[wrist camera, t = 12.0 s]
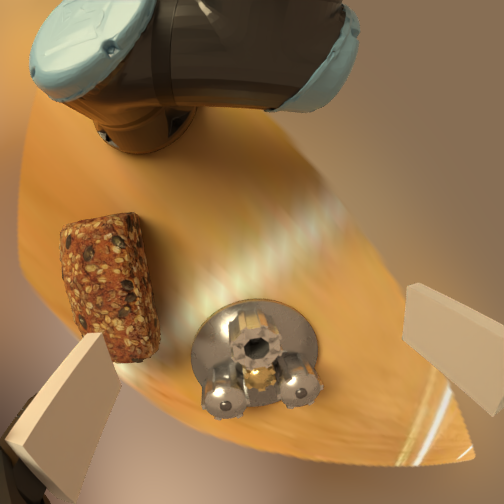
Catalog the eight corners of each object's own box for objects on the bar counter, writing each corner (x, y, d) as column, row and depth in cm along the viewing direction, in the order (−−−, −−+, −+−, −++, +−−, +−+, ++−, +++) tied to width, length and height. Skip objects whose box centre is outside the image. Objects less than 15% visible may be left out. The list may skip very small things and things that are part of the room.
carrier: (179, 308, 40) (171, 331, 32) (313, 288, 41) (332, 307, 34) (205, 408, 44) (204, 438, 36) (315, 390, 45) (329, 417, 38)
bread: (166, 332, 40) (153, 368, 31) (105, 335, 39) (81, 368, 30) (143, 209, 37) (119, 213, 27) (79, 220, 36) (43, 228, 26)
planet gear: (225, 310, 39) (226, 329, 33) (272, 304, 40) (280, 321, 34) (232, 350, 41) (234, 373, 35) (276, 344, 41) (284, 365, 35)
